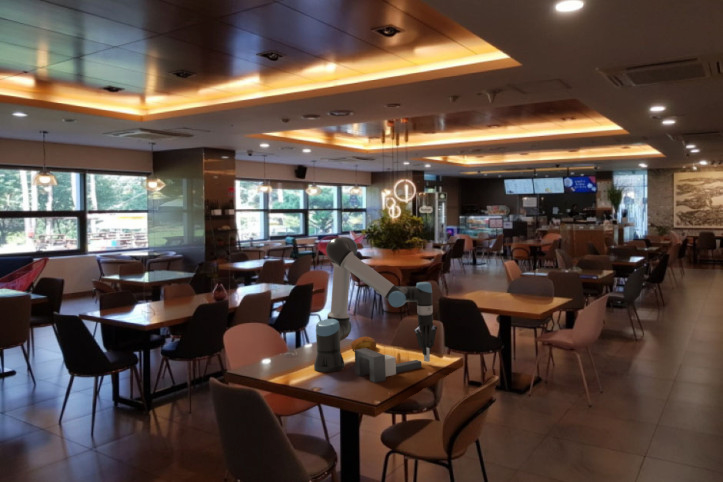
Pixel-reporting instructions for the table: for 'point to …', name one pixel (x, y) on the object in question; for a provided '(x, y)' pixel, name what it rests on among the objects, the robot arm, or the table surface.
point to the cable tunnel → (370, 364)
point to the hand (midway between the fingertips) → (426, 361)
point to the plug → (399, 365)
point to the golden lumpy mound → (364, 343)
